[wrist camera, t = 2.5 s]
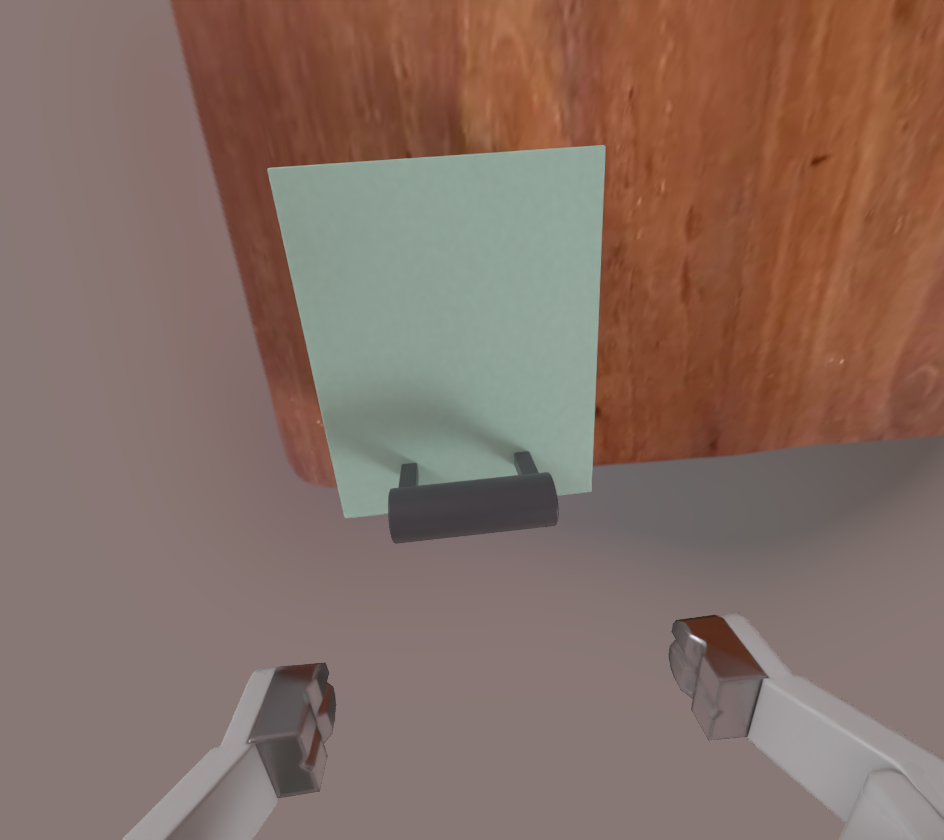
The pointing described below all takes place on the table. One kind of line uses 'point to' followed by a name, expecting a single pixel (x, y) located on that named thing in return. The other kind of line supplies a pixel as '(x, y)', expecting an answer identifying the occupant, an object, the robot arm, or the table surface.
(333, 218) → the lid
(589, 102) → the table surface
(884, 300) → the table surface
